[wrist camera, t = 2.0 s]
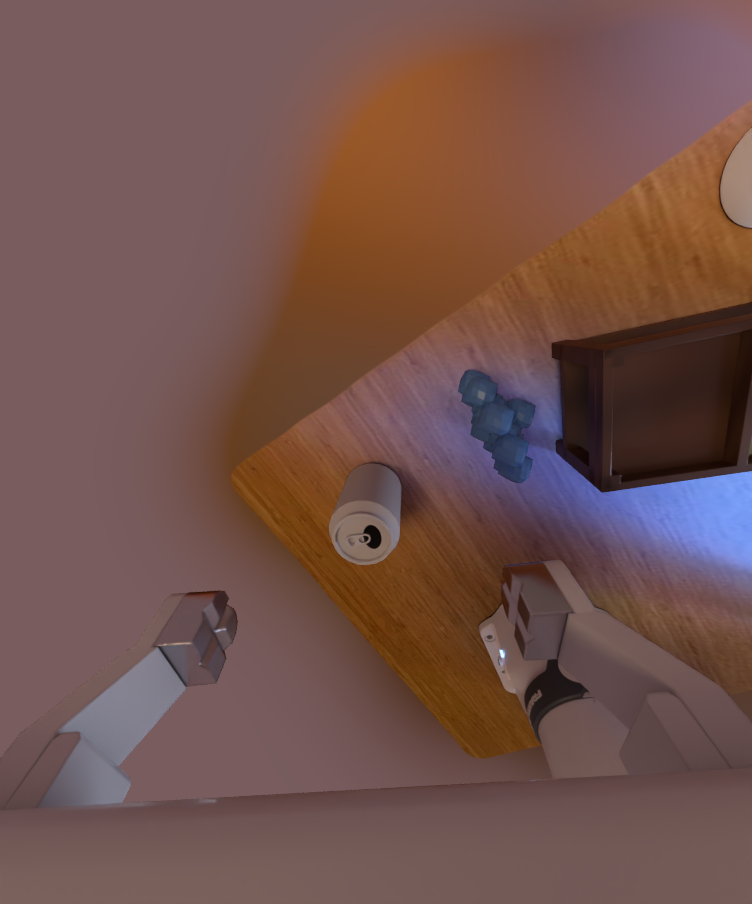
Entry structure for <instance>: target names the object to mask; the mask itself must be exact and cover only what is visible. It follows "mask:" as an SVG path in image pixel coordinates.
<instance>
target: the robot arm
mask: <svg viewBox="0 0 752 904" xmlns="http://www.w3.org/2000/svg"><path fill="white" fill-rule="evenodd" d="M502 575H503V577H504V579H505V583H504V584H503V585H502V586H501V597H502V605H501V606H500V607H499V608H498V610H497V611H496V612H495V614H494V615H493V616H492V617H490V618H488V619H487V620H485V621H483V622H482V623H481V624H480V625H479V627H478V629H479V632H480V635H481V637H482V639H483V641H484V644H485V646H486V648H487V650H488V653H489V655H490V657H491V659H492V662H493V664H494V666H495V668H496V671H497V673H498V675H499V677H500V679H501V682H502V684H503V686H504V688H505V690H506V691H508V692H511V693H514V694H517V697H518V699H519V701H520V703H521V706H522V708H523V710H524V712H525V714H526V715H528V719H529V722H530V724H531V727H532V729H533V731H534V733H535V735H536V737H537V739H538V740H539V742H540V743H541V744H542V747H543V750H544V753H545V756H546V759H547V762H548V765H549V769H550V772H551V775H552V778H553V779H542V780H524V781H507V782H488V783H471V784H452V785H435V786H416V787H398V788H382V789H381V788H380V789H363V790H345V791H329V792H328V791H327V792H309V793H292V794H274V795H256V796H239V797H220V798H203V799H184V800H167V801H149V802H132V803H122V802H123V800H124V798H125V796H126V794H127V792H128V789H129V787H130V785H131V781H130V777H129V776H128V775H127V774H126V773H125V772H123V771H122V770H121V769H120V768H119V767H118V766H119V765H120V764H121V763H122V762H123V761H124V759H125V758H126V757H127V756H128V755H129V754H130V753H131V751H132V750H133V749H134V748H135V747H136V746H137V745H138V743H139V742H140V741H141V740H142V739H143V738H144V736H145V735H146V734H147V733H148V732H149V731H150V730H151V728H152V727H153V726H154V725H155V724H156V723H157V722H158V720H159V719H160V718H161V717H162V716H163V715H164V714H165V712H166V711H167V710H168V709H169V708H170V706H171V705H172V704H173V703H174V702H175V701H176V700H177V699H178V698H179V696H180V695H181V694H182V693H183V692H184V691H185V690H186V687H187V686H196V685H206V684H215V683H216V682H217V681H218V678H219V675H220V673H221V671H222V668H223V665H224V663H225V660H226V656H225V652H224V651H225V650H226V649H227V648H228V646H230V645H231V644H232V642H233V640H234V637H235V635H236V630H237V623H238V621H237V615H236V612H235V610H234V608H232V607H230V606H229V605H228V604H227V602H228V599H229V598H228V596H227V594H226V592H225V591H207V592H190V593H179V594H172V595H170V596H169V597H168V598H167V599H166V600H165V601H164V603H163V604H162V606H161V607H160V609H159V610H158V612H157V613H156V615H155V616H154V618H153V620H152V621H151V622H150V624H149V626H148V627H147V629H146V630H145V632H144V633H143V634H142V636H141V638H140V639H139V641H138V642H137V644H136V645H135V647H134V648H133V649H127V650H126V651H125V652H124V653H122V654H121V655H120V656H118V657H117V658H116V659H115V660H113V661H112V662H111V663H110V664H108V665H107V666H106V667H104V668H103V669H102V670H101V671H99V672H98V673H97V674H95V675H94V676H93V677H92V678H90V679H89V680H88V681H86V682H85V683H84V684H83V685H81V686H80V687H79V688H78V689H76V690H75V691H74V692H72V693H71V694H70V695H69V696H67V697H66V698H65V699H63V700H62V701H61V702H60V703H58V704H57V705H56V706H54V707H53V708H52V709H51V710H50V711H48V712H47V713H46V714H44V715H43V716H42V717H40V718H39V719H38V720H37V721H35V722H34V723H33V724H31V725H30V726H29V727H28V728H26V729H25V730H24V731H22V732H21V733H20V734H19V735H18V737H17V738H16V739H15V741H14V742H13V743H12V745H11V746H10V747H9V748H8V749H7V751H6V752H5V753H4V755H3V756H2V757H1V758H0V904H752V722H751V721H750V720H749V719H748V718H747V717H746V715H745V714H744V713H743V712H742V711H741V709H740V708H739V707H738V706H737V705H736V704H735V702H734V701H733V700H732V699H731V698H730V697H729V695H728V694H727V693H726V692H725V691H724V690H723V688H722V687H721V686H719V685H718V684H716V683H715V682H713V681H711V680H710V679H708V678H707V677H705V676H704V675H702V674H701V673H699V672H697V671H696V670H694V669H693V668H691V667H690V666H688V665H687V664H685V663H683V662H682V661H680V660H679V659H677V658H676V657H674V656H672V655H671V654H669V653H668V652H666V651H665V650H663V649H662V648H660V647H658V646H657V645H655V644H654V643H652V642H651V641H649V640H647V639H646V638H644V637H643V636H641V635H640V634H638V633H637V632H635V631H633V630H632V629H630V628H629V627H627V626H626V625H624V624H623V623H621V622H619V621H618V620H616V619H615V618H613V617H612V616H610V614H609V613H608V612H606V611H603V610H601V609H598V608H595V607H594V606H593V605H592V604H591V602H590V601H589V599H588V598H587V596H586V595H585V593H584V592H583V590H582V589H581V587H580V586H579V585H578V583H577V582H576V580H575V579H574V577H573V576H572V574H571V573H570V571H569V570H568V568H567V567H566V566H565V564H564V563H563V562H562V561H561V560H552V561H541V562H539V561H538V562H529V563H519V564H509V565H504V567H503V573H502Z"/></svg>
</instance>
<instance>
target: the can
mask: <svg viewBox="0 0 752 904" xmlns="http://www.w3.org/2000/svg"><path fill="white" fill-rule="evenodd" d="M400 510H401V484H400V481H399V478H398V477H397V476H396V474H395V473H394V472H393V471H392V470H390V469H389V468H387V467H386V466H383V465H380V464H371V463H368V464H364V465H360V466H358V467H357V468H355V469H354V470H352V472H351V473H350V474H349V475H348V477H347V479H346V482H345V484H344V487H343V489H342V492H341V494H340V497H339V499H338V502H337V504H336V507H335V510H334V512H333V515H332V517H331V520H330V523H329V534H330V537H331V539H332V543H333V545H334V547H335V550H336V551H337V552H338V553H339V554H340V556H341V557H343V558H344V559H346V560H348V561H349V562H352V563H355V564H359V565H370V564H375V563H378V562H380V561H382V560H384V559H385V558H386V557H387V556H388V555H389V554H390V552H391V551H392V550H393V549H394V548H395V547H396V545H397V543H398V540H399V534H400Z"/></svg>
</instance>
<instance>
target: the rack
mask: <svg viewBox="0 0 752 904" xmlns="http://www.w3.org/2000/svg"><path fill="white" fill-rule="evenodd" d="M552 358H556V359H560V370H561V400H562V430H563V439H562V440H556V453H557V454H558V455H560V456H561V457H562V458H563V459H564V460H565V461H566V462H568V463H569V464H570V465H571V466H572V467H573V468H574V469H576V470H577V471H578V472H579V473H580V474H581V475H582V476H584V477H585V478H586V479H587V480H588V481H589V482H590V483H592V484H593V485H594V486H595V487H596V488H597V489H598V490H600V491H601V492H602V493H603V492H610V491H616V490H623V489H630V488H636V487H643V486H650V485H657V484H664V483H671V482H678V481H685V480H692V479H699V478H706V477H713V476H720V475H727V474H734V473H741V472H748V471H752V302H751V303H746V304H742V305H737V306H733V307H728V308H723V309H719V310H714V311H710V312H705V313H700V314H696V315H691V316H687V317H682V318H677V319H673V320H668V321H664V322H659V323H654V324H650V325H645V326H641V327H636V328H631V329H627V330H622V331H617V332H613V333H608V334H604V335H599V336H594V337H590V338H585V339H581V340H576V341H575V340H563V341H558V342H554V343H552Z"/></svg>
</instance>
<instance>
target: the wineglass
mask: <svg viewBox="0 0 752 904" xmlns="http://www.w3.org/2000/svg"><path fill="white" fill-rule="evenodd" d="M720 197H721V203H722V206H723V209H724V211H725V212H726V214H727V215H728V217H729V218H730V219H731V220H733V221H734V222H735V223H737V224H739V225H741V226H744V227H749V228H752V128H751V129H750V130H749V131H748V132H747V133H746V134H745V135H744V136H743V137H742V139H741V140H740V141H739V143H738V144H737V145H736V147H735V148H734V150H733V151H732V153H731V155H730V157H729V159H728V161H727V163H726V166H725V168H724V171H723V175H722V179H721V185H720Z"/></svg>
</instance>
